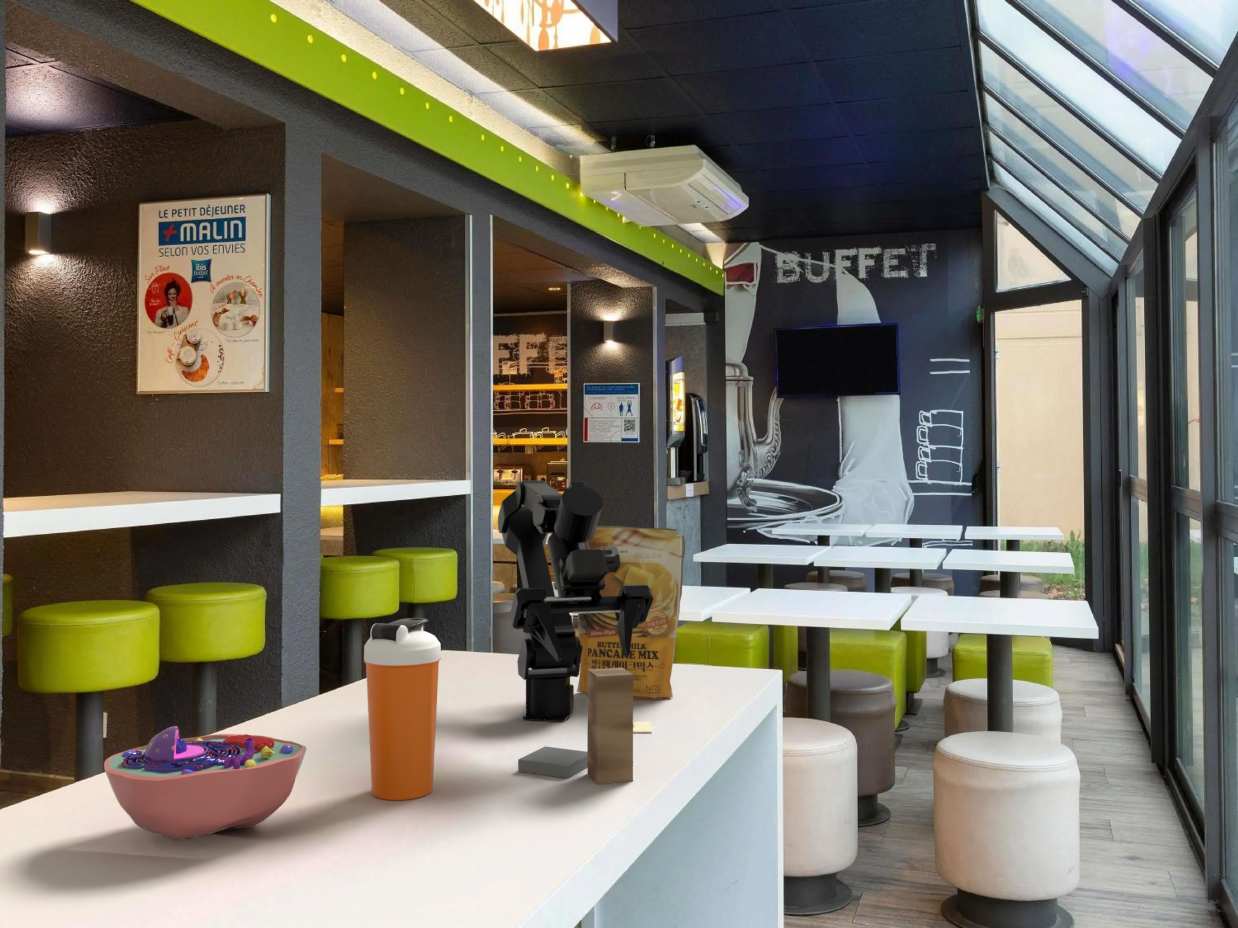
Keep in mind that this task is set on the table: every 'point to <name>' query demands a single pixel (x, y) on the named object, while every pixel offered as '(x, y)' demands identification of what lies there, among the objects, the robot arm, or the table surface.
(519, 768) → the base plate
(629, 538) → the pancake mix bag
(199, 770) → the cell model
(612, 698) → the pillar
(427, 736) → the shaker bottle
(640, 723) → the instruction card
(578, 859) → the table surface
